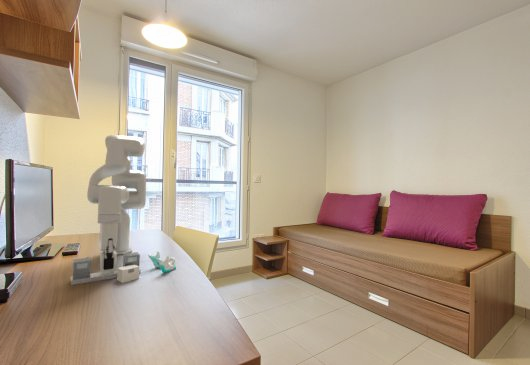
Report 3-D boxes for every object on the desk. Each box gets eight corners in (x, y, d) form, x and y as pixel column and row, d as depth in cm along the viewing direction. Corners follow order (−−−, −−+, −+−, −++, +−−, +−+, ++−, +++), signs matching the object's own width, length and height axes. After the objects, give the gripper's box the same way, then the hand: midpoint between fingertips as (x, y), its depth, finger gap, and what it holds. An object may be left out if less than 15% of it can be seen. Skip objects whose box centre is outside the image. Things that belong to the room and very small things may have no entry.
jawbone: (183, 268, 109) (176, 249, 107) (166, 279, 104) (158, 260, 102) (170, 261, 118) (163, 243, 115) (154, 271, 113) (146, 253, 110)
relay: (117, 280, 96) (117, 267, 96) (133, 276, 100) (134, 264, 100) (122, 283, 93) (122, 270, 93) (138, 278, 98) (139, 266, 98)
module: (99, 269, 99) (100, 252, 99) (114, 267, 102) (115, 250, 102) (100, 273, 95) (101, 255, 95) (116, 270, 98) (117, 253, 98)
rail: (70, 280, 94) (71, 259, 94) (137, 270, 107) (138, 251, 107) (70, 285, 90) (71, 262, 90) (140, 273, 103) (141, 254, 103)
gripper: (95, 216, 103) (94, 263, 103) (99, 221, 90) (97, 275, 89) (117, 216, 108) (115, 260, 107) (124, 220, 94) (122, 271, 94)
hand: (107, 266), depth 98 cm, fingers closed on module, 4 cm apart
